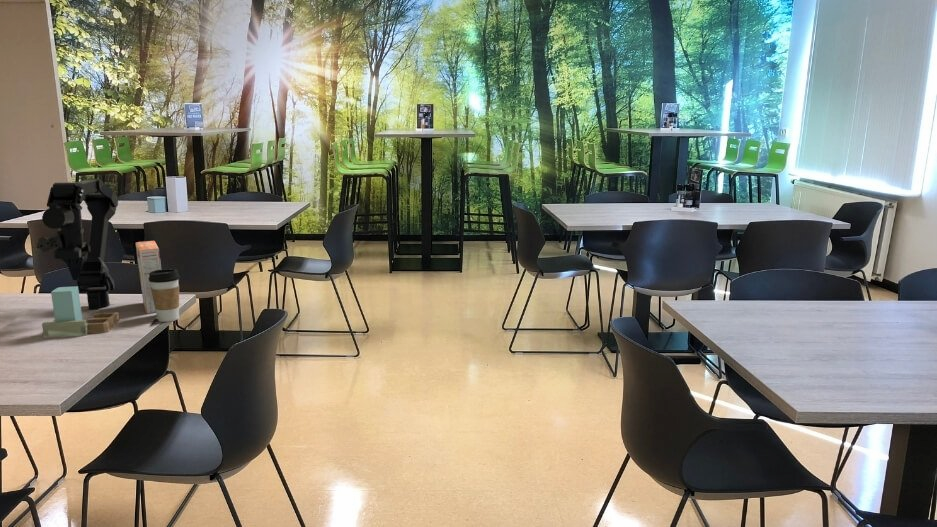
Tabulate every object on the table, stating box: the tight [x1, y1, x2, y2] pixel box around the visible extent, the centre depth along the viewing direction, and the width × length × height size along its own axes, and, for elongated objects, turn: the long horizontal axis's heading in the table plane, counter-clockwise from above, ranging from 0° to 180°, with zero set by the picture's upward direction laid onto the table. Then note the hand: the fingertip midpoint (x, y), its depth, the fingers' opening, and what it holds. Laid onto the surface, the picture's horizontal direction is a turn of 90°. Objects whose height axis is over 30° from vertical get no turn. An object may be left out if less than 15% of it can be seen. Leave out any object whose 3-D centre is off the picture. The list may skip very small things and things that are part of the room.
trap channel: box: [41, 311, 120, 339], centre depth 184 cm, size 14×15×5 cm
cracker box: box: [135, 240, 162, 314], centre depth 203 cm, size 14×6×21 cm, turn 30°
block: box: [50, 285, 83, 322], centre depth 180 cm, size 5×5×12 cm
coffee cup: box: [149, 268, 180, 323], centre depth 194 cm, size 8×8×15 cm
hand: (75, 279), depth 189 cm, fingers closed
